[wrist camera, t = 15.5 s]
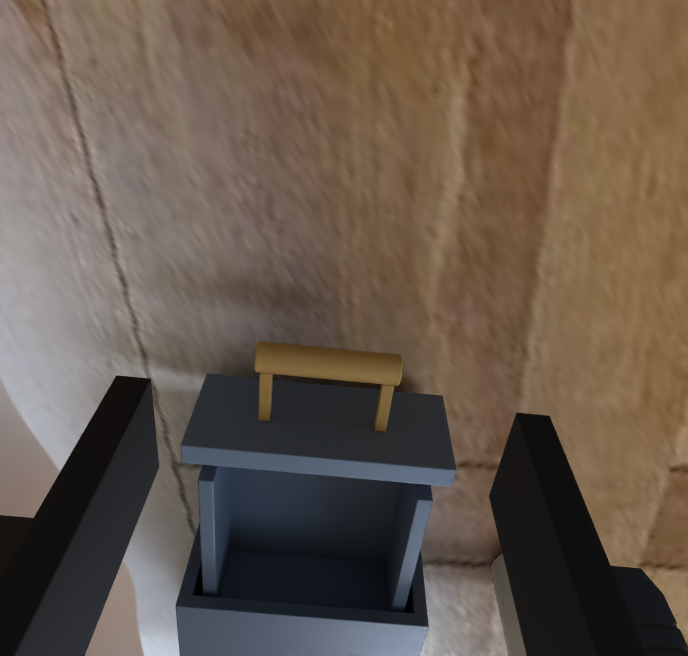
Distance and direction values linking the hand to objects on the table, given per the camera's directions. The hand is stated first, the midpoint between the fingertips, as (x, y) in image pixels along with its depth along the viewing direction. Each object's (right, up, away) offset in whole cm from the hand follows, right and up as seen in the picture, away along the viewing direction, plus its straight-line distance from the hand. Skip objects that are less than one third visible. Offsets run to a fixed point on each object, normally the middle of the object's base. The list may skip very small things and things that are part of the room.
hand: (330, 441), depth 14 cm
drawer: (-1, -5, +22) cm, 23 cm away
